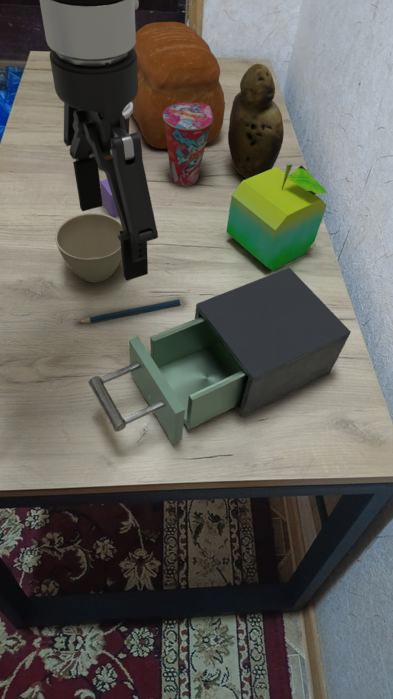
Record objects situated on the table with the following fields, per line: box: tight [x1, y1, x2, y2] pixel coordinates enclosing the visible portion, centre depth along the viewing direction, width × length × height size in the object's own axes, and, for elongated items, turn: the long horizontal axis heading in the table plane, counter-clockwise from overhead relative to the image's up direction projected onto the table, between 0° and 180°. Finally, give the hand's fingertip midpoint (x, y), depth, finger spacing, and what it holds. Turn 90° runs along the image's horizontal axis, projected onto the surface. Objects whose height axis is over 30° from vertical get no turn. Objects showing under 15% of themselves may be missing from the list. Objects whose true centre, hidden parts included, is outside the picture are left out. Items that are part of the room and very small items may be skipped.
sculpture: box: [227, 63, 285, 179], centre depth 86 cm, size 13×8×20 cm, turn 11°
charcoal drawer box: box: [194, 267, 352, 419], centre depth 64 cm, size 15×13×9 cm
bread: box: [131, 21, 226, 150], centre depth 97 cm, size 18×22×17 cm
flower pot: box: [54, 212, 123, 283], centre depth 73 cm, size 10×10×7 cm
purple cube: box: [100, 178, 119, 218], centre depth 84 cm, size 4×4×4 cm
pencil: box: [78, 298, 181, 324], centre depth 71 cm, size 1×1×15 cm
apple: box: [225, 164, 329, 271], centre depth 76 cm, size 11×10×15 cm
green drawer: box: [88, 316, 248, 445], centre depth 59 cm, size 20×11×7 cm, turn 121°
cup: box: [163, 103, 213, 187], centre depth 88 cm, size 9×8×12 cm
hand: (112, 239), depth 59 cm, fingers open, 13 cm apart
